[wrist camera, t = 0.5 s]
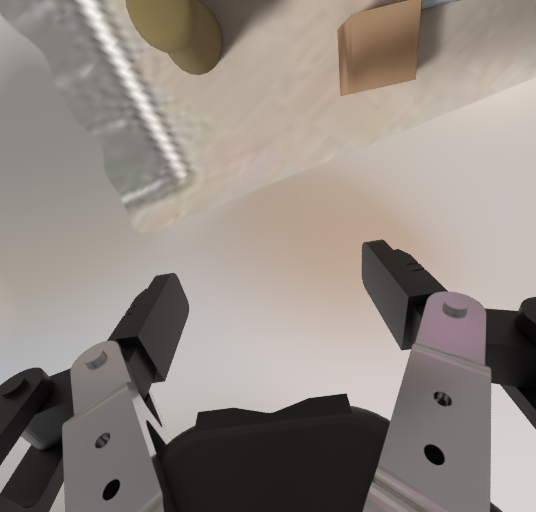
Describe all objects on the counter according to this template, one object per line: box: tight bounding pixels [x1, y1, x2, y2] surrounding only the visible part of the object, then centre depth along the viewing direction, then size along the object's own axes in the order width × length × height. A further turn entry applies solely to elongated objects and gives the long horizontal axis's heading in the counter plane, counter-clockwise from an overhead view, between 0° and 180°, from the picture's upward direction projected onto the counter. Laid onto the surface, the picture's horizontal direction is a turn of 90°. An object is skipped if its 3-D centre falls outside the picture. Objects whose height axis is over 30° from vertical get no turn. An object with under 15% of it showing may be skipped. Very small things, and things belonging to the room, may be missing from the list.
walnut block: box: [337, 0, 421, 96], centre depth 26 cm, size 6×6×5 cm
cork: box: [126, 0, 222, 75], centre depth 22 cm, size 6×6×11 cm
